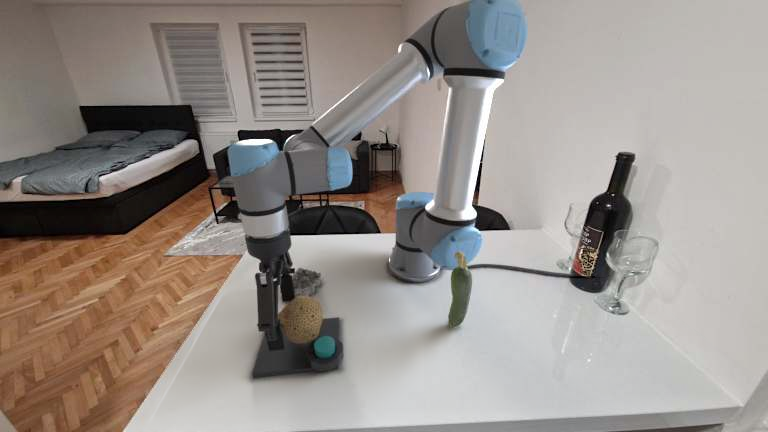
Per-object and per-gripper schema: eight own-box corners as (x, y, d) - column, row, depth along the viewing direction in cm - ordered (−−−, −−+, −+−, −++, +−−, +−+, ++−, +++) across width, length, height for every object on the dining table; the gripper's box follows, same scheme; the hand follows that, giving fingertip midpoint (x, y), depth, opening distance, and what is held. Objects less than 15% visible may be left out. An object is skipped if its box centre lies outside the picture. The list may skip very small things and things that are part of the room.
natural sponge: (314, 344, 66) (340, 319, 63) (282, 362, 59) (309, 333, 55) (294, 310, 69) (318, 284, 66) (261, 322, 62) (285, 293, 58)
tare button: (335, 341, 62) (335, 335, 61) (335, 357, 58) (334, 351, 57) (315, 343, 61) (314, 336, 60) (313, 360, 57) (313, 353, 57)
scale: (343, 320, 70) (342, 310, 69) (343, 373, 58) (342, 362, 57) (268, 327, 69) (266, 317, 67) (251, 383, 56) (248, 371, 55)
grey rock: (304, 306, 75) (302, 293, 73) (278, 300, 77) (275, 287, 75) (324, 281, 84) (323, 269, 83) (300, 276, 86) (299, 264, 85)
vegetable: (466, 324, 69) (477, 248, 61) (464, 338, 66) (475, 259, 57) (446, 319, 71) (454, 245, 63) (444, 332, 67) (452, 255, 59)
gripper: (262, 204, 65) (276, 286, 73) (218, 271, 42) (247, 378, 51) (298, 203, 65) (308, 283, 74) (274, 268, 43) (293, 373, 51)
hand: (283, 322), depth 62 cm, fingers open, 13 cm apart
